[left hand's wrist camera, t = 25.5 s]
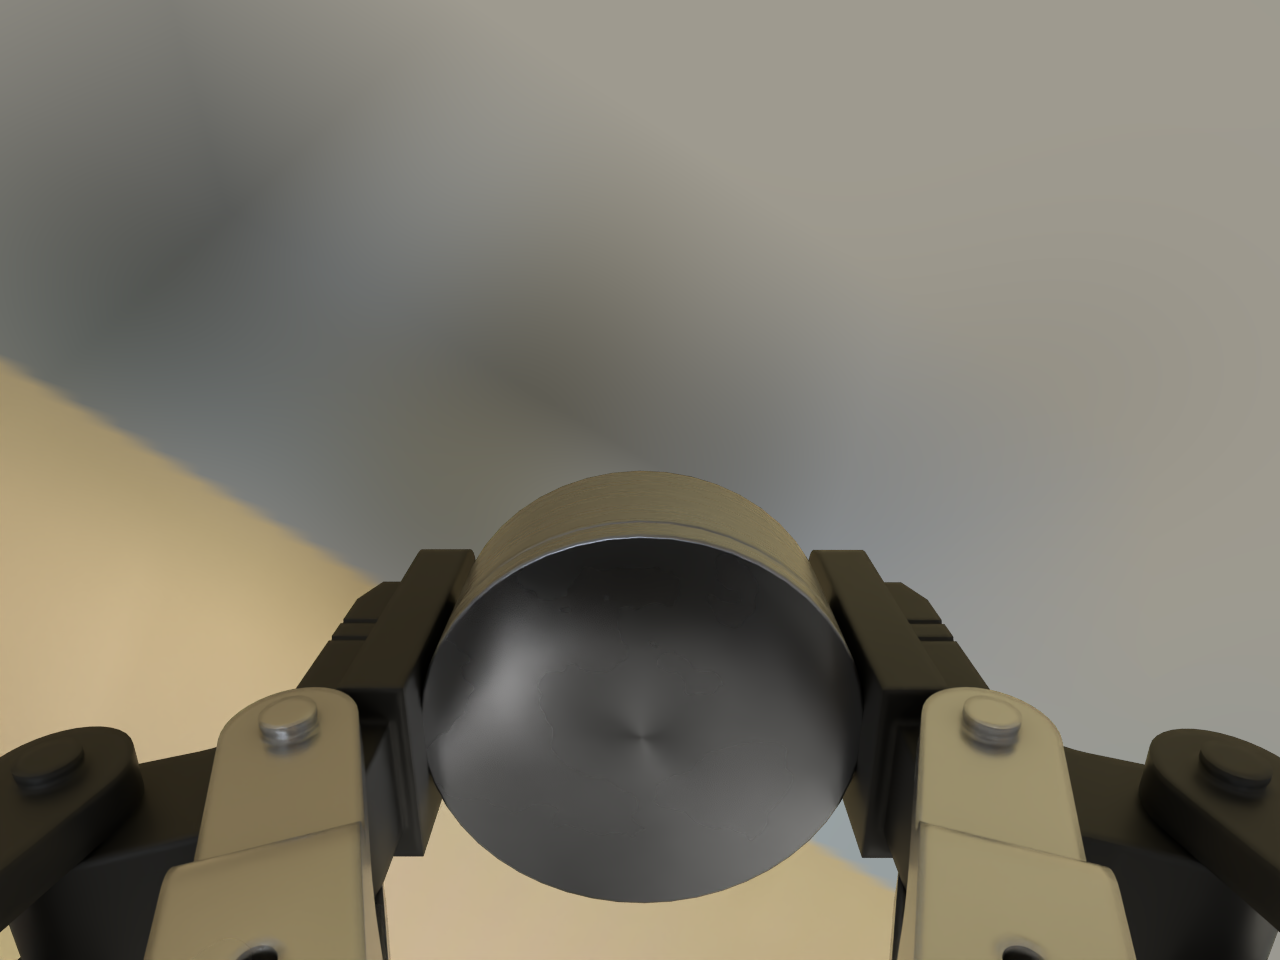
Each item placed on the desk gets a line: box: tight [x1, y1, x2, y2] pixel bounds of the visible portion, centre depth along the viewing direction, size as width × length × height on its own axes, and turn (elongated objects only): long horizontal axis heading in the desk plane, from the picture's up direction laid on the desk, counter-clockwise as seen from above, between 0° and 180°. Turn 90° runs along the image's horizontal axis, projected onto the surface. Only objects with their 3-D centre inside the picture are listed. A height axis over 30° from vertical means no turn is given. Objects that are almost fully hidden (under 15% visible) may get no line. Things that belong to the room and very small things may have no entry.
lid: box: [422, 471, 863, 903], centre depth 10 cm, size 5×5×2 cm
